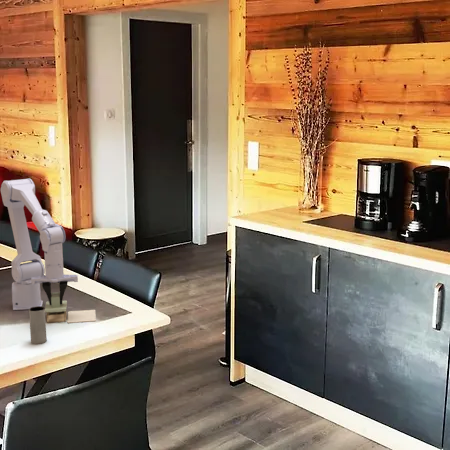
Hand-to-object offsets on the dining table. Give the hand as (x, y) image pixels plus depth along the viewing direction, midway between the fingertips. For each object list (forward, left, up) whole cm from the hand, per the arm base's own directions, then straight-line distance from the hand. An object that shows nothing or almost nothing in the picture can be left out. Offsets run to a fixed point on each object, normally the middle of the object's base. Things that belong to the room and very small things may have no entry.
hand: (56, 303), depth 220 cm
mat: (+8, 0, -5) cm, 10 cm away
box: (0, 0, -5) cm, 5 cm away
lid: (0, 0, -1) cm, 1 cm away
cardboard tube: (-4, -20, -5) cm, 21 cm away
